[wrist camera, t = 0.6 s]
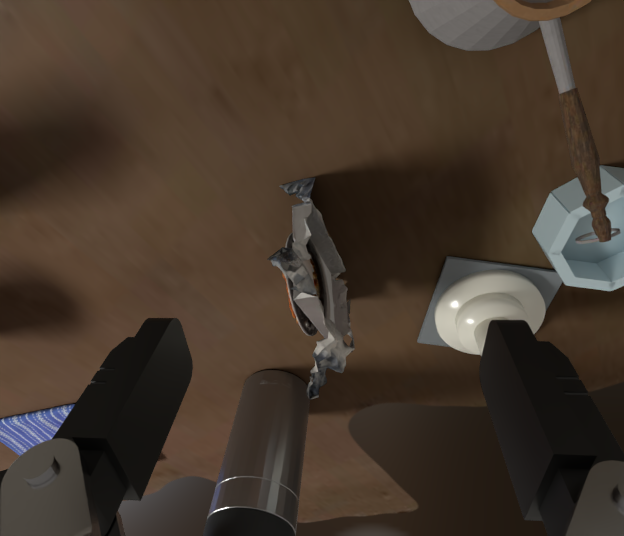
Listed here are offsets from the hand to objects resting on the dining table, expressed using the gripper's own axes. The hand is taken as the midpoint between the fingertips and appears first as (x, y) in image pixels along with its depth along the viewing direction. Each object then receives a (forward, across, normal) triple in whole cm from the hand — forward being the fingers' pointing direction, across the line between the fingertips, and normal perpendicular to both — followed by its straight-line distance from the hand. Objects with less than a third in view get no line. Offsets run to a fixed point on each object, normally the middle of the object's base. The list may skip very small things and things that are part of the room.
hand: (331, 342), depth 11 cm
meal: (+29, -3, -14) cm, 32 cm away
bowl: (+28, +23, -11) cm, 38 cm away
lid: (+28, +15, -22) cm, 39 cm away
